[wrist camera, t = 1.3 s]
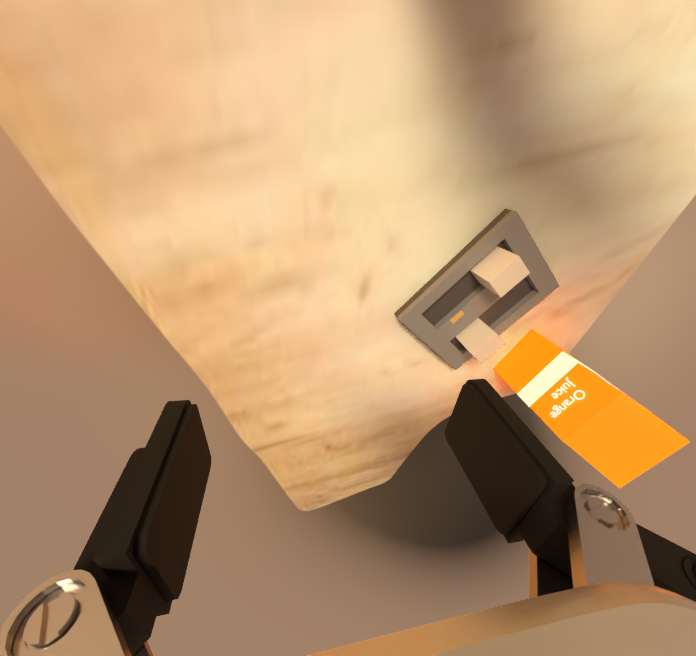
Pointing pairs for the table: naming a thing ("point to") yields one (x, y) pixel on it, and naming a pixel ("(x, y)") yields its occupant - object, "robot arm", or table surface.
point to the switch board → (477, 291)
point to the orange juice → (587, 410)
